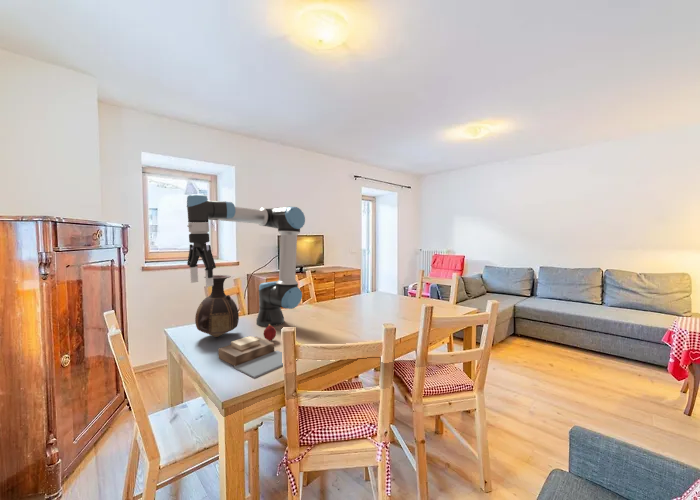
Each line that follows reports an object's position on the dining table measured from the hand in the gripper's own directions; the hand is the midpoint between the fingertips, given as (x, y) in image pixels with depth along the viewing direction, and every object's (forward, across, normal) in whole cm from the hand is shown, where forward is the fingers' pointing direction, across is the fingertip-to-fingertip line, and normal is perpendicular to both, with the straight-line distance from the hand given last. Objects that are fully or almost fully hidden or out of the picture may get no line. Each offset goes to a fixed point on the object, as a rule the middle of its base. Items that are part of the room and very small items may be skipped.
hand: (202, 284), depth 128 cm
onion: (+31, +9, +26) cm, 41 cm away
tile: (+26, +14, +10) cm, 31 cm away
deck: (+30, +15, +10) cm, 35 cm away
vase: (+30, -16, +14) cm, 37 cm away
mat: (+30, +28, +10) cm, 43 cm away
